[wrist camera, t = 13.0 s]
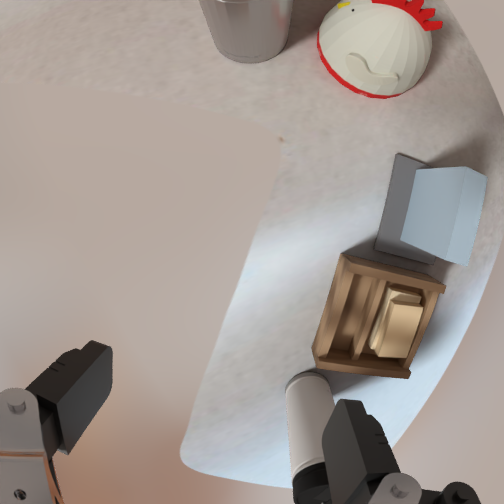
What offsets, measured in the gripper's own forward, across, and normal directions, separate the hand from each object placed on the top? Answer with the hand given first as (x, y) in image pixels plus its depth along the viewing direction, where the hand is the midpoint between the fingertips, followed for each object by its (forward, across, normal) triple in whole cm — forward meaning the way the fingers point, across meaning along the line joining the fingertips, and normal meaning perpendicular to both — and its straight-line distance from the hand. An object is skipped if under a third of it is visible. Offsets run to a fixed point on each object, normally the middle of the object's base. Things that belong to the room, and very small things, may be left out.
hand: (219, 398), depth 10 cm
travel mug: (+28, -12, +18) cm, 36 cm away
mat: (+28, -19, -9) cm, 35 cm away
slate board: (+28, -19, -9) cm, 35 cm away
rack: (+28, -17, +5) cm, 33 cm away
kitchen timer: (+28, -9, -28) cm, 41 cm away
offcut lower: (+27, -20, +5) cm, 34 cm away
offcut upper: (+26, -20, +6) cm, 33 cm away
